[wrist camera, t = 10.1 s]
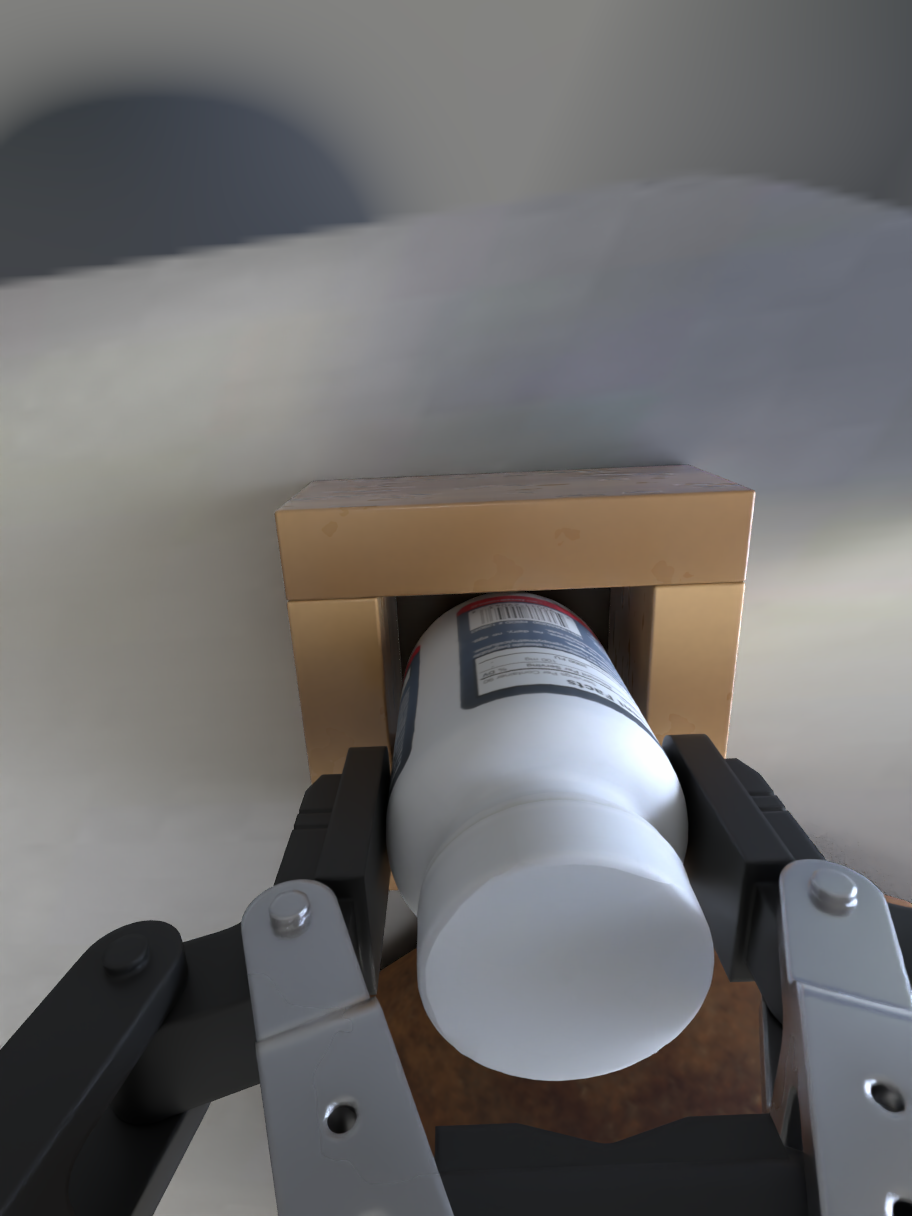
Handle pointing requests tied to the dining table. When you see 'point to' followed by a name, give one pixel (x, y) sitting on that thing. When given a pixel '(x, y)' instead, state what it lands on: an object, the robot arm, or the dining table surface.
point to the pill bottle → (541, 847)
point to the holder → (515, 583)
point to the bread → (591, 1107)
